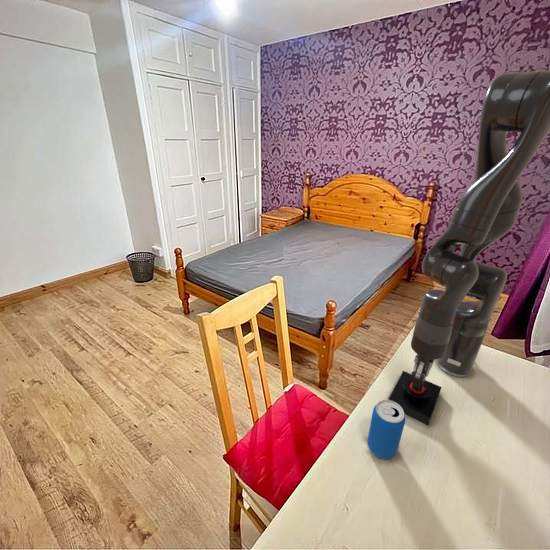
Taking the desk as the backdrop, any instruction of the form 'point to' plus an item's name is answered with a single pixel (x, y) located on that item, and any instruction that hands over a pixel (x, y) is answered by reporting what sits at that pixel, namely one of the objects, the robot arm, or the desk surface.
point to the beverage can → (386, 429)
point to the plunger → (416, 390)
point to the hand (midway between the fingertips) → (417, 388)
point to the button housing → (415, 398)
